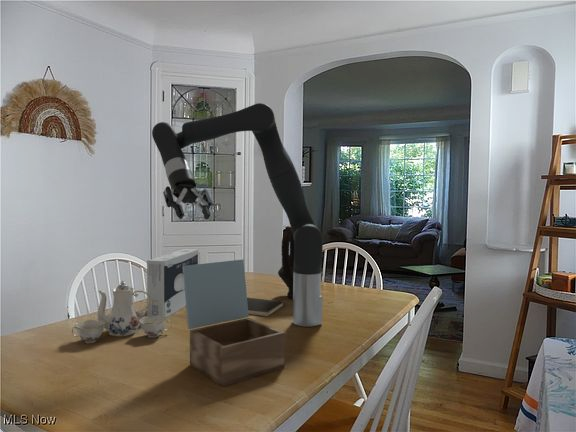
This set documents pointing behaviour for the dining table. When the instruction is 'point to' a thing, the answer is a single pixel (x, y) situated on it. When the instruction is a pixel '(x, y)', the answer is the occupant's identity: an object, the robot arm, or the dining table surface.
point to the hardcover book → (263, 306)
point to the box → (236, 350)
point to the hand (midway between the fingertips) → (195, 217)
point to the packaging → (168, 282)
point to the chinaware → (121, 317)
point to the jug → (288, 260)
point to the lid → (215, 293)
